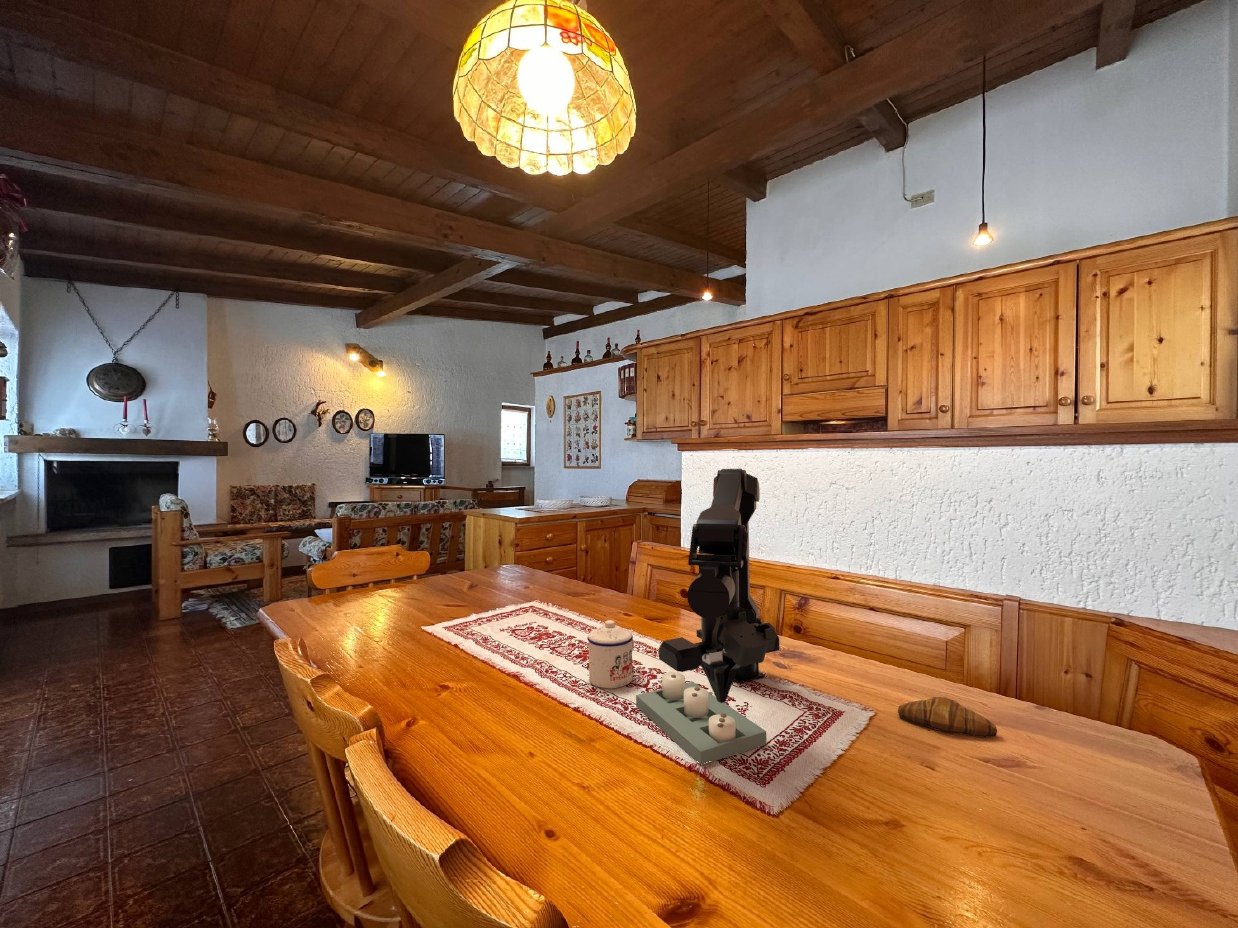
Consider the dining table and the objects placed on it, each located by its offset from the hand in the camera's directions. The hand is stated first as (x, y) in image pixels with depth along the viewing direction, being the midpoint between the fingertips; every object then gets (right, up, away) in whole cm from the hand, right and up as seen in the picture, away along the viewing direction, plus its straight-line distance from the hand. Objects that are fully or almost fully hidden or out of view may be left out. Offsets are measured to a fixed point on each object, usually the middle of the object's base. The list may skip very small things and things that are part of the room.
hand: (721, 701), depth 78 cm
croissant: (+37, -6, +4) cm, 38 cm away
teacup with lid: (-16, -7, +26) cm, 31 cm away
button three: (0, -6, 0) cm, 6 cm away
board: (-3, -7, +6) cm, 10 cm away
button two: (-3, -5, +6) cm, 8 cm away
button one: (-6, -5, +13) cm, 15 cm away
